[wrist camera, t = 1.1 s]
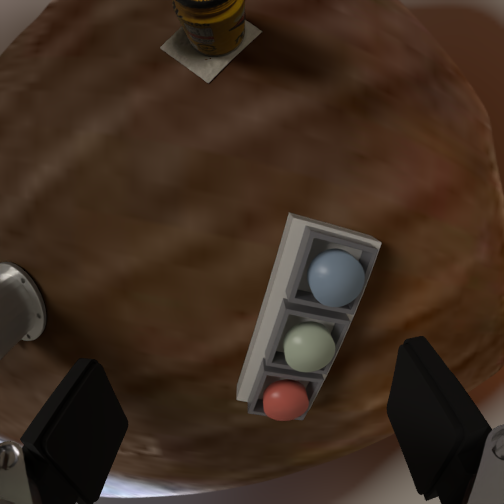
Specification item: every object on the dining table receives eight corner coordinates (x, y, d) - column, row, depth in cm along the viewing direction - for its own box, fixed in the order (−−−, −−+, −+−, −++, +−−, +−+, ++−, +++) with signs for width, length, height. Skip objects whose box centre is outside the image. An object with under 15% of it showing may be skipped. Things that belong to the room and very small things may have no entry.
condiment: (262, 32, 27) (269, -25, 15) (208, 83, 29) (188, 44, 17) (213, -1, 25) (199, -61, 14) (160, 49, 27) (122, 3, 16)
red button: (297, 411, 35) (299, 422, 33) (257, 406, 34) (258, 417, 32) (312, 382, 33) (315, 393, 31) (269, 376, 33) (271, 387, 31)
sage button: (320, 364, 32) (324, 375, 31) (277, 357, 32) (278, 368, 30) (337, 325, 31) (342, 335, 29) (291, 317, 31) (294, 327, 29)
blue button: (347, 302, 30) (353, 311, 28) (300, 292, 30) (303, 301, 28) (364, 255, 29) (372, 262, 27) (316, 242, 28) (321, 248, 26)
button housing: (305, 395, 40) (311, 422, 35) (236, 385, 39) (236, 413, 34) (371, 235, 33) (391, 249, 28) (289, 212, 33) (297, 222, 27)
